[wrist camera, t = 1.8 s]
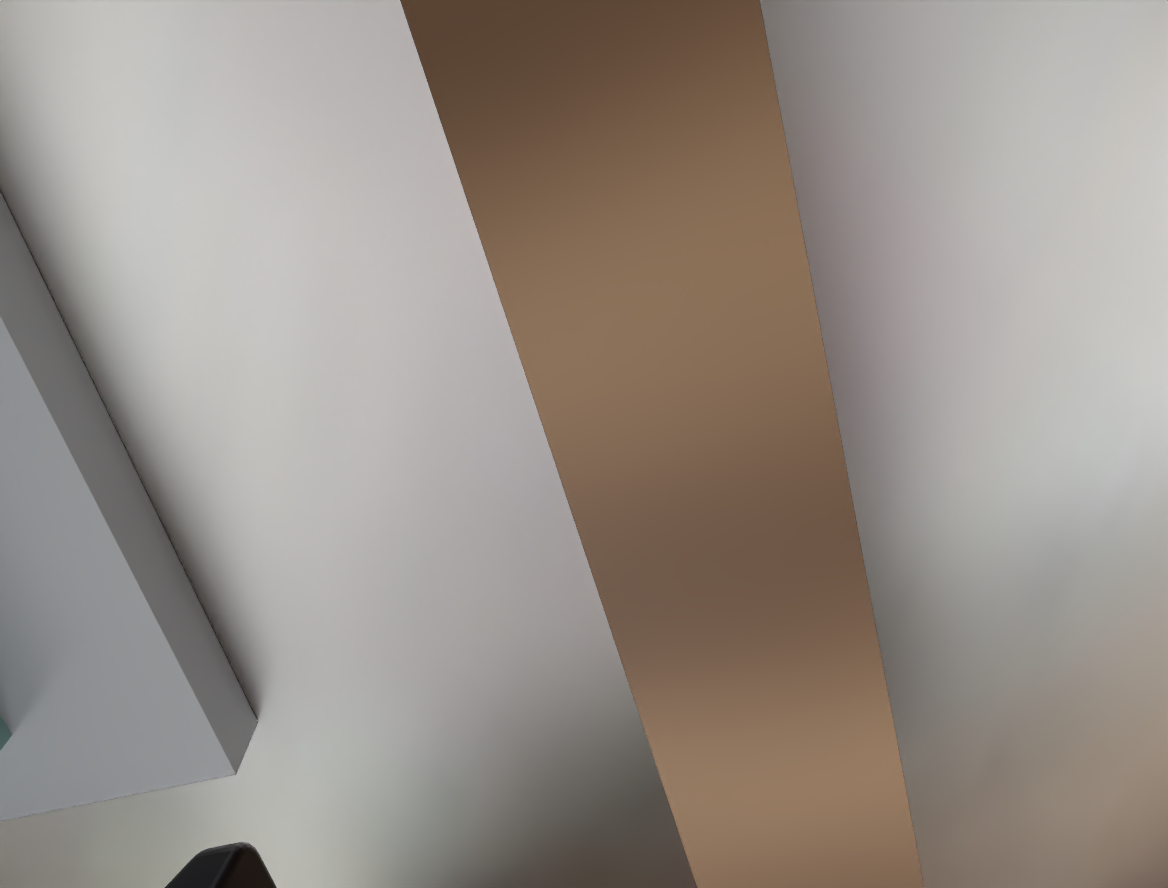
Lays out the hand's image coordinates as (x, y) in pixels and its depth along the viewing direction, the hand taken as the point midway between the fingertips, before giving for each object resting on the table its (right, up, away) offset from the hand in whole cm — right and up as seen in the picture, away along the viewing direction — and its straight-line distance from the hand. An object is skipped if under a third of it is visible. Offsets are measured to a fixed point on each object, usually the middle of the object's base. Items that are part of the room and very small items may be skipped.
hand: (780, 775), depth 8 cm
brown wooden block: (0, +4, +9) cm, 10 cm away
